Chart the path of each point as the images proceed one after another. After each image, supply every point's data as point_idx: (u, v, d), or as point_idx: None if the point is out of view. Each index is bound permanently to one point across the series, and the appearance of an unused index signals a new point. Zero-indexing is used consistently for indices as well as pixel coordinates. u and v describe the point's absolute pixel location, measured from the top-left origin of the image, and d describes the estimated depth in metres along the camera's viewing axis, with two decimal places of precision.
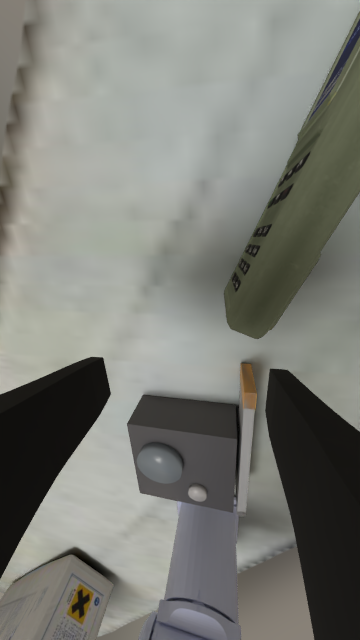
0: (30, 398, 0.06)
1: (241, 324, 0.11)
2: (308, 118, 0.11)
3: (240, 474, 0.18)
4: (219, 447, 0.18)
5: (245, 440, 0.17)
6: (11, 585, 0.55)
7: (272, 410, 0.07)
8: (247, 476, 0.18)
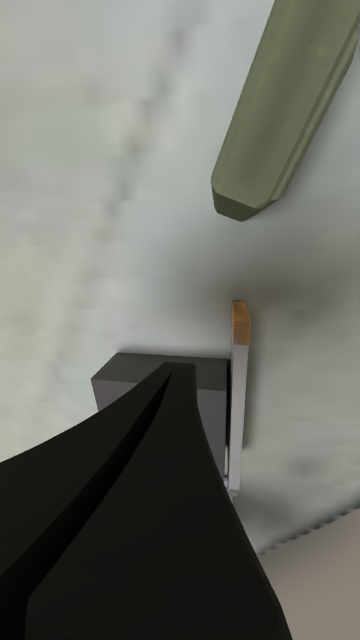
0: (142, 412, 0.05)
1: (232, 183, 0.07)
2: None
3: (231, 439, 0.14)
4: (204, 404, 0.14)
5: (237, 391, 0.13)
6: None
7: None
8: (240, 441, 0.14)
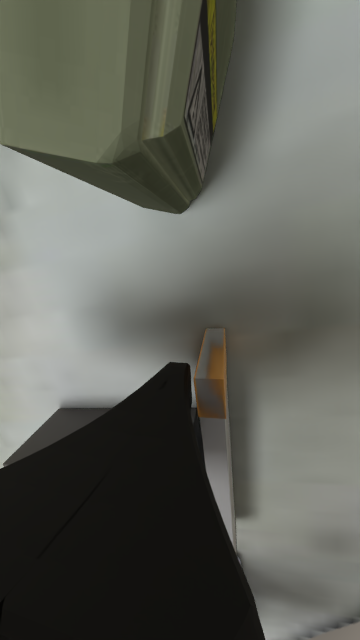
0: (149, 413, 0.05)
1: (23, 107, 0.03)
2: None
3: None
4: None
5: (215, 485, 0.08)
6: None
7: None
8: None
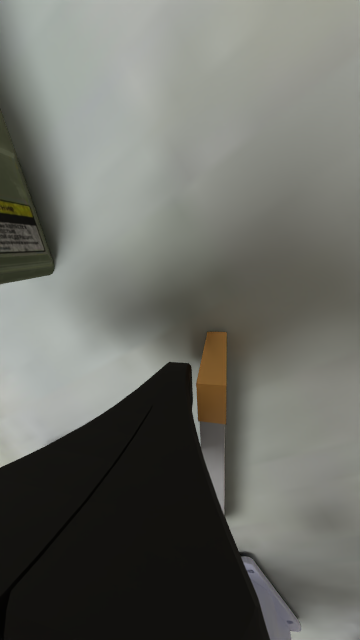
0: (148, 413, 0.05)
1: None
2: None
3: None
4: None
5: None
6: None
7: None
8: None
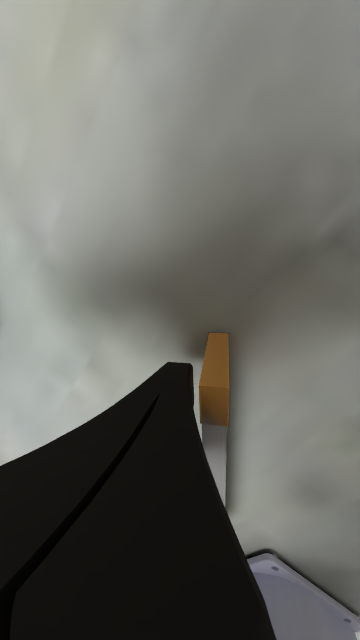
0: (146, 413, 0.05)
1: None
2: None
3: None
4: None
5: None
6: None
7: None
8: None
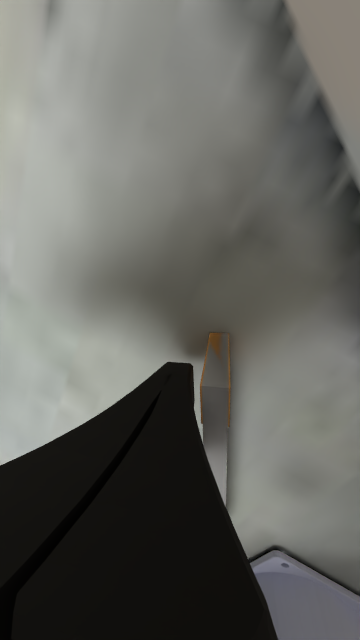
0: (146, 412, 0.05)
1: None
2: None
3: None
4: None
5: None
6: None
7: None
8: None
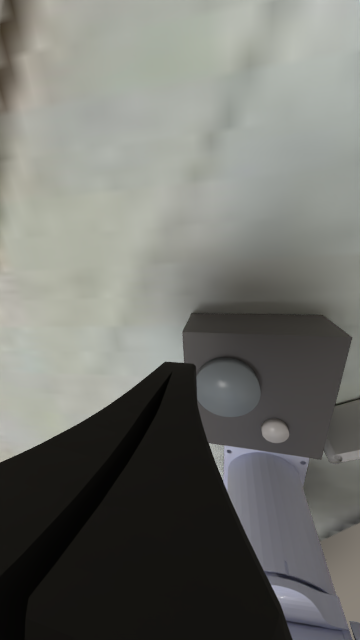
0: (142, 412, 0.05)
1: None
2: None
3: None
4: (320, 354, 0.13)
5: None
6: None
7: None
8: None
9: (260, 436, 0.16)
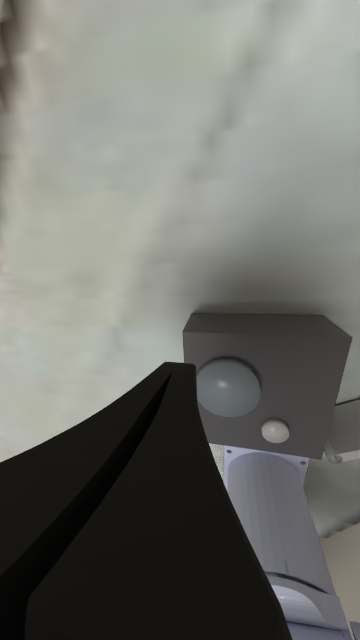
0: (142, 412, 0.05)
1: None
2: None
3: None
4: (320, 354, 0.13)
5: None
6: None
7: None
8: None
9: (260, 436, 0.16)
